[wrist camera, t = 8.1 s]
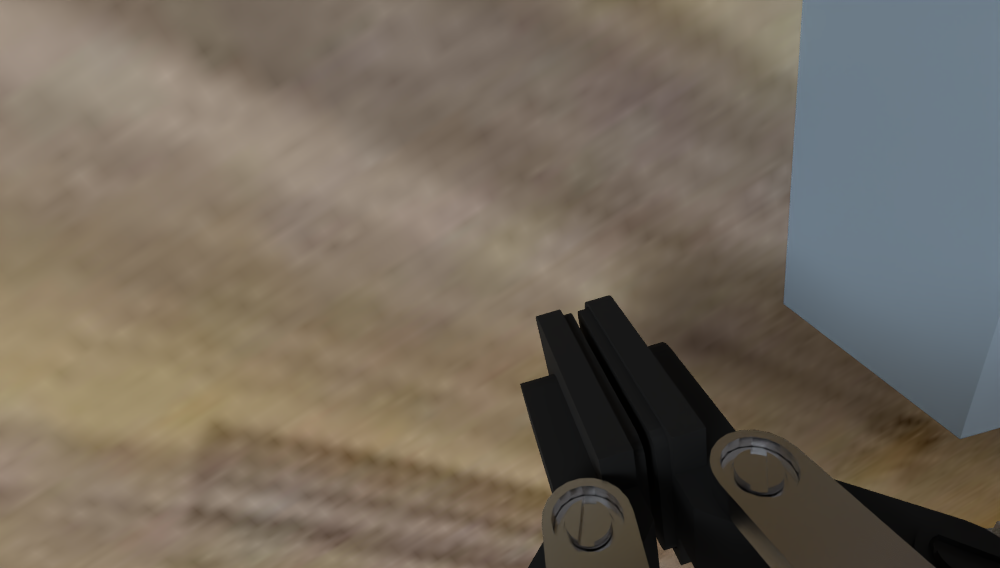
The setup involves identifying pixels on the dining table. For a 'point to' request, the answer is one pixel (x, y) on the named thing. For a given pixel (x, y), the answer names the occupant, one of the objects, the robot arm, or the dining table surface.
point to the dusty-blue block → (902, 197)
